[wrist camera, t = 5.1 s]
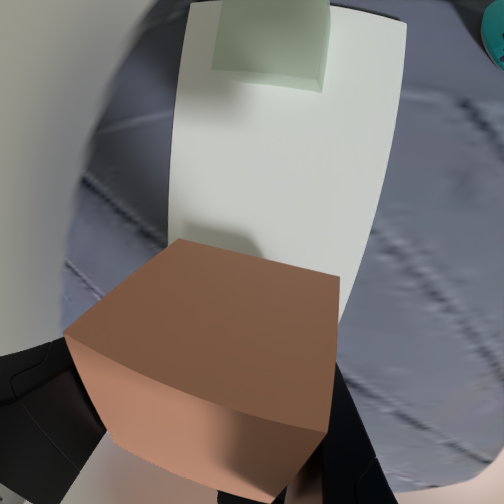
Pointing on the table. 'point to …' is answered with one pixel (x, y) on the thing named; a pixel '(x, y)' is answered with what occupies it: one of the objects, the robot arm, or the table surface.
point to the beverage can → (494, 32)
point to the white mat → (286, 149)
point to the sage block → (274, 42)
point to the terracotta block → (214, 365)
